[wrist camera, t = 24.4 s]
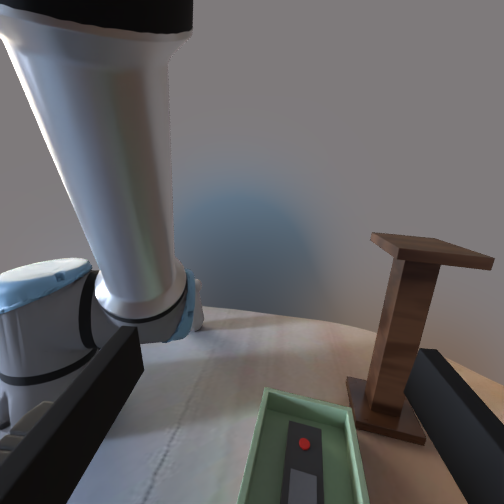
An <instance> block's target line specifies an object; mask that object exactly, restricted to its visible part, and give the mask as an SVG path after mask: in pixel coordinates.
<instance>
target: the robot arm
mask: <svg viewBox="0 0 504 504" xmlns="http://www.w3.org/2000/svg"><path fill="white" fill-rule="evenodd" d="M192 21H193V0H0V38H1V39H2V40H3V42H4V44H5V47H6V49H7V51H8V54H9V56H10V58H11V60H12V63H13V66H14V68H15V70H16V73H17V75H18V77H19V80H20V82H21V85H22V87H23V89H24V91H25V94H26V96H27V98H28V101H29V103H30V105H31V108H32V110H33V112H34V115H35V117H36V120H37V122H38V125H39V127H40V129H41V132H42V134H43V136H44V139H45V141H46V143H47V146H48V148H49V151H50V153H51V155H52V157H53V160H54V162H55V165H56V167H57V169H58V172H59V174H60V177H61V179H62V181H63V184H64V186H65V188H66V191H67V193H68V195H69V198H70V200H71V203H72V205H73V207H74V209H75V212H76V214H77V217H78V219H79V221H80V224H81V226H82V228H83V231H84V233H85V236H86V238H87V240H88V243H89V245H90V247H91V250H92V252H93V254H94V257H95V259H96V262H97V264H98V266H99V269H100V270H96V271H94V270H91V269H92V265H91V264H90V262H89V261H88V260H86V259H80V258H66V259H56V260H50V261H44V262H39V263H34V264H30V265H26V266H23V267H19V268H16V269H13V270H9V271H7V272H4V273H2V274H0V504H66V503H67V501H68V500H69V498H70V496H71V494H72V493H73V491H74V489H75V488H76V486H77V484H78V482H79V481H80V479H81V477H82V476H83V474H84V472H85V470H86V469H87V467H88V465H89V464H90V462H91V460H92V459H93V457H94V455H95V453H96V452H97V450H98V448H99V447H100V445H101V443H102V441H103V440H104V438H105V436H106V435H107V433H108V431H109V430H110V428H111V426H112V424H113V423H114V421H115V419H116V418H117V416H118V414H119V412H120V411H121V409H122V407H123V406H124V404H125V402H126V400H127V399H128V397H129V395H130V394H131V392H132V390H133V389H134V387H135V385H136V383H137V382H138V380H139V378H140V377H141V375H142V373H143V371H144V366H143V360H142V353H141V347H140V344H146V343H156V342H162V343H167V342H170V341H173V340H180V339H183V338H185V337H186V336H187V335H188V334H189V332H190V330H191V327H192V323H193V317H194V313H193V311H194V308H195V295H196V288H195V277H194V273H193V272H192V271H191V270H190V269H185V268H184V267H183V265H182V263H181V262H180V261H179V260H178V259H177V258H176V257H175V255H174V226H173V200H172V199H173V197H172V170H171V139H170V111H169V84H168V62H169V60H170V58H171V56H172V55H173V54H174V53H175V52H176V51H177V50H178V49H179V48H180V47H181V46H182V45H183V44H184V43H185V42H186V41H187V40H188V39H189V38H190V37H191V36H192V30H193V26H192V24H193V22H192ZM100 349H101V350H100ZM99 350H100V351H99ZM403 393H404V394H405V396H406V398H407V399H408V401H409V403H410V405H411V406H412V408H413V410H414V411H415V413H416V415H417V417H418V418H419V420H420V422H421V424H422V425H423V427H424V429H425V430H426V432H427V434H428V436H429V437H430V439H431V441H432V442H433V444H434V446H435V448H436V449H437V451H438V453H439V454H440V456H441V458H442V460H443V461H444V463H445V465H446V466H447V468H448V470H449V472H450V473H451V475H452V477H453V478H454V480H455V482H456V484H457V485H458V487H459V489H460V490H461V492H462V494H463V496H464V497H465V499H466V501H467V503H468V504H504V425H503V423H502V422H501V421H500V420H499V419H498V418H497V417H496V416H495V414H494V413H493V412H492V411H491V410H490V409H489V408H488V407H487V405H486V404H485V403H484V402H483V401H482V400H481V399H480V398H479V396H478V395H477V394H476V393H475V392H474V391H473V390H472V389H471V388H470V386H469V385H468V384H467V383H466V382H465V381H464V380H463V379H462V377H461V376H460V375H459V374H458V373H457V372H456V371H455V370H454V368H453V367H452V366H451V365H450V364H449V363H448V362H447V361H446V359H445V358H444V357H443V356H442V355H441V354H440V353H439V352H438V350H436V349H423V348H419V351H418V353H417V356H416V359H415V362H414V364H413V367H412V370H411V372H410V375H409V378H408V380H407V383H406V386H405V389H404V391H403Z"/></svg>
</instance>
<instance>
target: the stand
mask: <svg viewBox="0 0 504 504" xmlns="http://www.w3.org/2000/svg"><path fill="white" fill-rule="evenodd" d="M370 240H371V241H372V242H373V243H375V244H376V245H378V246H379V247H380V248H382V249H383V250H384V251H386V252H387V253H389V254H390V255H391V256H393V257H394V259H393V264H392V268H391V273H390V278H389V282H388V286H387V291H386V296H385V300H384V305H383V309H382V314H381V319H380V323H379V328H378V332H377V337H376V341H375V346H374V351H373V355H372V360H371V364H370V369H369V374H368V378H367V381H366V380H362V379H357V378H352V377H348V376H347V379H346V386H347V391H348V396H349V402H350V407H351V408H352V413H353V418H354V423H355V428H357V429H361V430H365V431H369V432H373V433H377V434H380V435H384V436H388V437H392V438H396V439H400V440H404V441H408V442H411V443H415V444H419V445H423V446H424V445H425V441H426V436H425V434H424V432H423V430H422V428H421V426H420V424H419V422H418V420H417V417H416V415H415V413H414V411H413V409H412V407H411V405H410V403H409V401H408V399H407V398H406V396H405V394H404V393H403V391H404V389H405V386H406V383H407V380H408V378H409V375H410V372H411V370H412V367H413V364H414V362H415V359H416V356H417V352H418V348H419V345H420V341H421V337H422V333H423V329H424V326H425V322H426V318H427V315H428V311H429V306H430V303H431V300H432V296H433V292H434V289H435V285H436V281H437V277H438V274H439V269H440V266H441V265H448V266H457V267H466V268H474V269H482V270H491V268H492V266H493V263H494V259H495V258H492V257H489V256H486V255H483V254H480V253H477V252H474V251H471V250H468V249H465V248H462V247H459V246H456V245H453V244H450V243H447V242H444V241H441V240H438V239H435V238H425V237H415V236H405V235H395V234H385V233H375V232H372V234H371V239H370Z"/></svg>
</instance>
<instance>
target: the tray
mask: <svg viewBox="0 0 504 504" xmlns="http://www.w3.org/2000/svg"><path fill="white" fill-rule="evenodd" d="M289 420H290V421H294V422H297V423H301V424H305V425H308V426H312V427H316V428H319V429H321V430H322V456H323V482H324V504H370V501H369V495H368V490H367V485H366V480H365V475H364V470H363V464H362V459H361V454H360V449H359V444H358V439H357V433H356V428H355V423H354V418H353V413H352V408H350V407H346V406H342V405H338V404H333V403H329V402H325V401H321V400H317V399H313V398H309V397H305V396H300V395H296V394H292V393H288V392H284V391H280V390H276V389H272V388H267V387H265V389H264V393H263V397H262V401H261V405H260V409H259V414H258V418H257V422H256V426H255V430H254V434H253V438H252V443H251V447H250V451H249V455H248V459H247V463H246V467H245V472H244V476H243V480H242V484H241V488H240V492H239V496H238V501H237V504H280V498H281V488H282V479H283V469H284V460H285V451H286V441H287V432H288V425H289Z"/></svg>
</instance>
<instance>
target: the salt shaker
mask: <svg viewBox="0 0 504 504" xmlns="http://www.w3.org/2000/svg"><path fill="white" fill-rule="evenodd" d="M195 288H196V295H195V308H194V311H193V313H194V317H193V323H192V327H191V330H190V331H193V332H194V331H196V330H199V329H200V328H201V325H202V323H203V321H204V315H203V310H202V305H201V299H200V294H199V291H200V290H201V288H202V283H201V281H200V280H197V279H195Z"/></svg>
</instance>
